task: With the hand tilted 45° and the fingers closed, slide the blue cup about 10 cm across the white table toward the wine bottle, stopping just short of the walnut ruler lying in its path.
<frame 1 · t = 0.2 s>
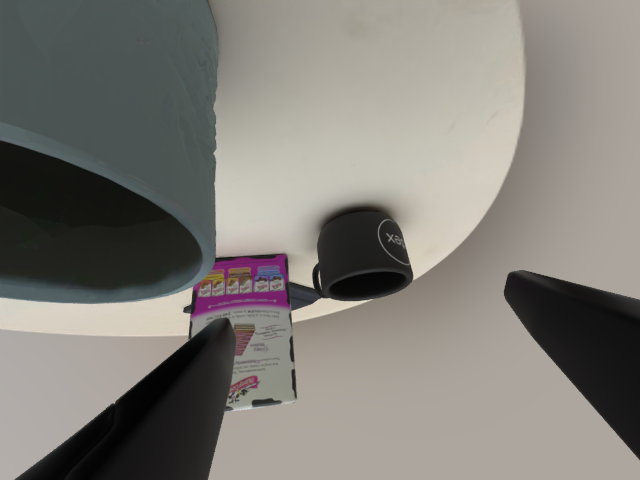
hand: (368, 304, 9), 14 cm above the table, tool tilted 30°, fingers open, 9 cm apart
candy bar box: (245, 262, 38), on the table
blue cup: (117, 20, 14), on the table
wallet: (254, 299, 51), on the table
mug: (345, 230, 34), on the table
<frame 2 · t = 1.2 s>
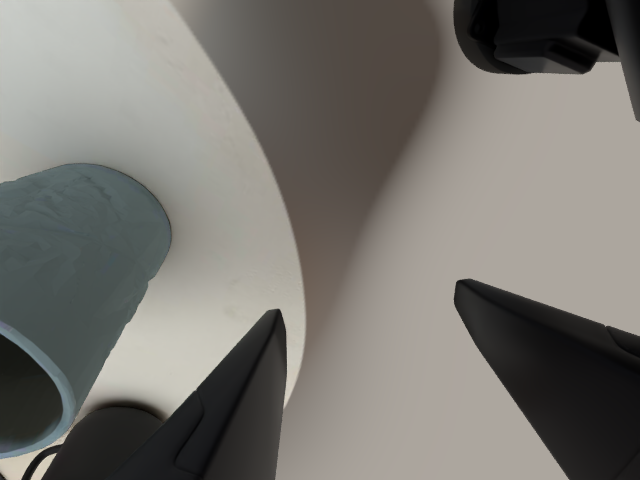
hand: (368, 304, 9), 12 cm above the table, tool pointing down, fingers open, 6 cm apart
blue cup: (103, 220, 20), on the table
mug: (115, 420, 32), on the table
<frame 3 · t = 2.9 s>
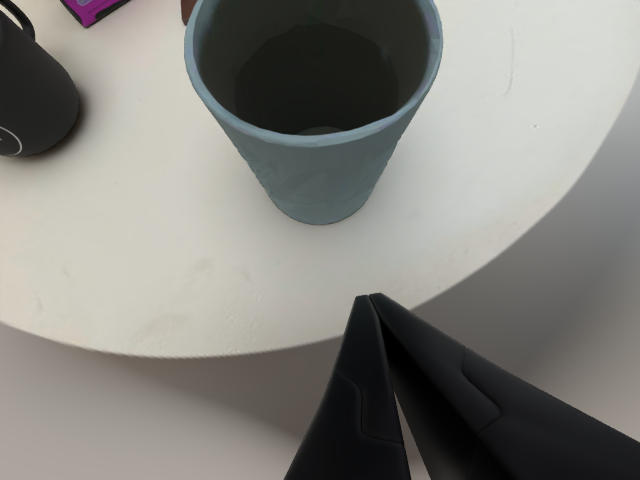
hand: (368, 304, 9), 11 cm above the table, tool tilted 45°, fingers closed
blue cup: (322, 172, 23), on the table
mug: (46, 105, 26), on the table
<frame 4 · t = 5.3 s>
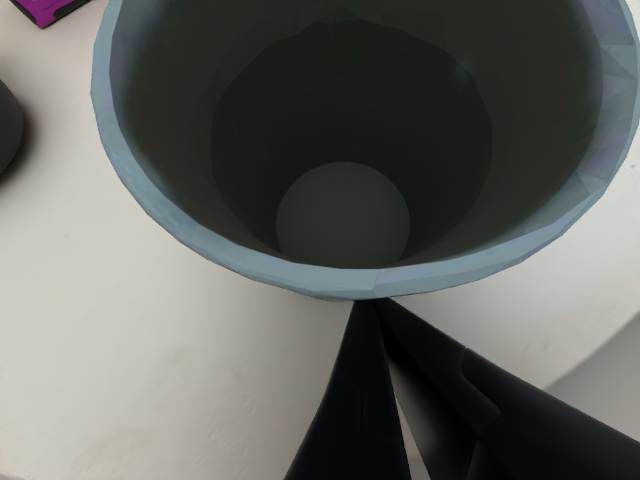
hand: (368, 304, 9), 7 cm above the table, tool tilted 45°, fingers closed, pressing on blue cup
blue cup: (342, 223, 17), on the table, touching gripper
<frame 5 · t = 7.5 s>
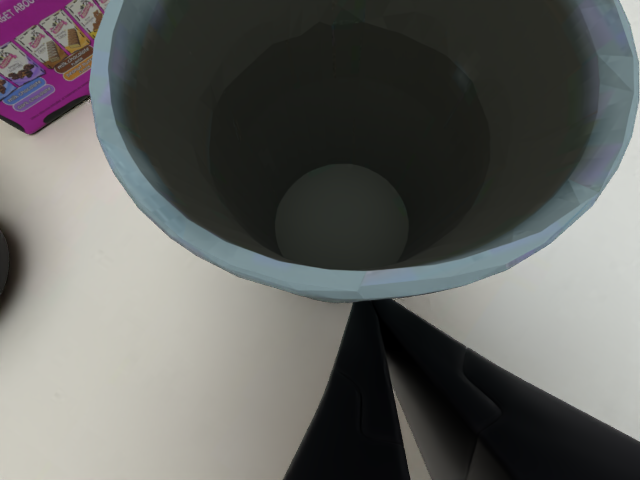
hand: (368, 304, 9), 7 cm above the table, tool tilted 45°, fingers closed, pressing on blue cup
candy bar box: (86, 71, 21), on the table
blue cup: (341, 225, 17), on the table, touching gripper
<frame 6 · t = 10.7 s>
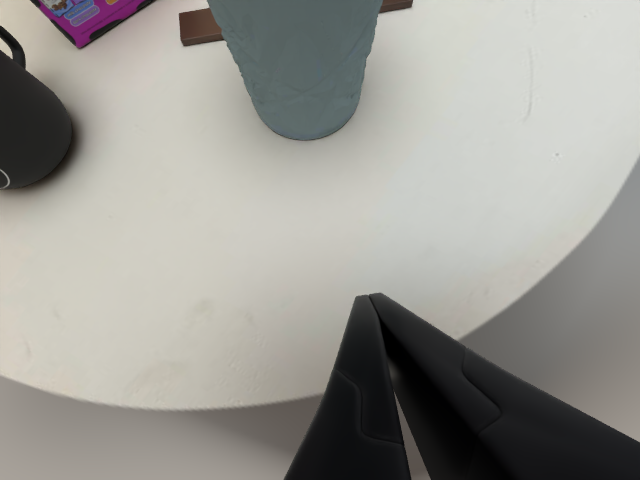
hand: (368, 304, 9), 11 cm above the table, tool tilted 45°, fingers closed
candy bar box: (119, 3, 27), on the table
blue cup: (309, 94, 24), on the table
walnut ruler: (295, 13, 26), on the table
mug: (37, 131, 24), on the table
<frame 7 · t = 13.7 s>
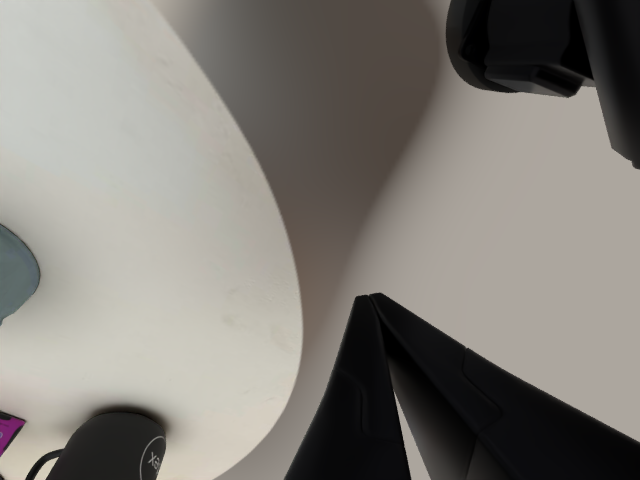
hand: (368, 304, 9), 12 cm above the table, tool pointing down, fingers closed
mug: (115, 425, 32), on the table
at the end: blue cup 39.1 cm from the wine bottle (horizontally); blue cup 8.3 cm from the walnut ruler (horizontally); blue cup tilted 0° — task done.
